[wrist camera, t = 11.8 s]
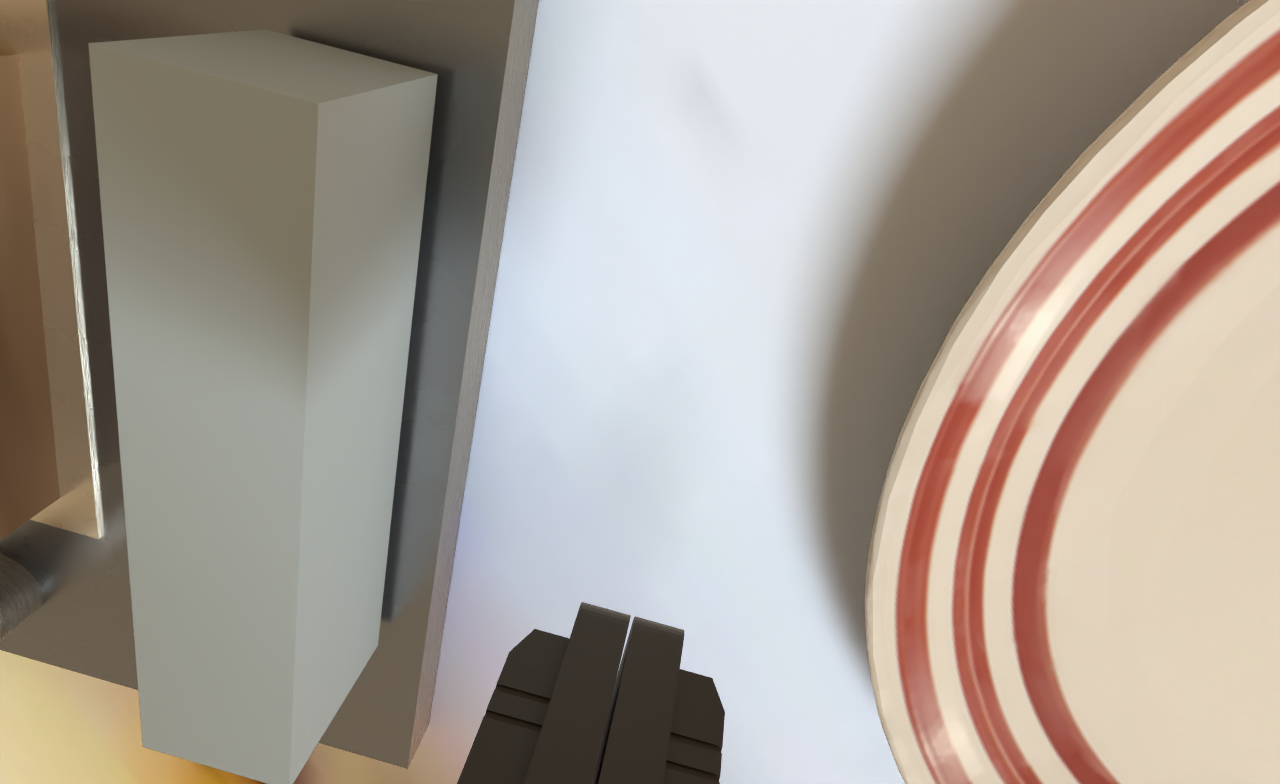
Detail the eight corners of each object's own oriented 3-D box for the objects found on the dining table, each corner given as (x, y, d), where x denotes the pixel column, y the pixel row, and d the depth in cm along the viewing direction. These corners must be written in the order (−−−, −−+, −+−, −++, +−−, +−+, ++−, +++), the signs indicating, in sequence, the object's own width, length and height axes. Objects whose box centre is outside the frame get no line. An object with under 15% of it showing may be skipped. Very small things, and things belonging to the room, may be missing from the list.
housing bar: (437, 73, 14) (318, 103, 10) (377, 645, 20) (289, 790, 16) (265, 29, 14) (88, 43, 10) (257, 610, 20) (142, 746, 16)
